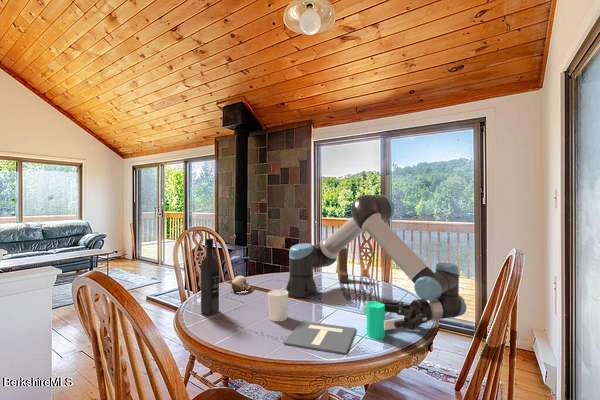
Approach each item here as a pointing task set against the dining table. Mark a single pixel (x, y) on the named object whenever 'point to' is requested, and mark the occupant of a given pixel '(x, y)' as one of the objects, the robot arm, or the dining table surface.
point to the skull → (241, 284)
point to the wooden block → (342, 266)
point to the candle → (375, 320)
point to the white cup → (278, 305)
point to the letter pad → (321, 337)
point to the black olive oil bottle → (209, 281)
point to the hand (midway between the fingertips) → (372, 317)
